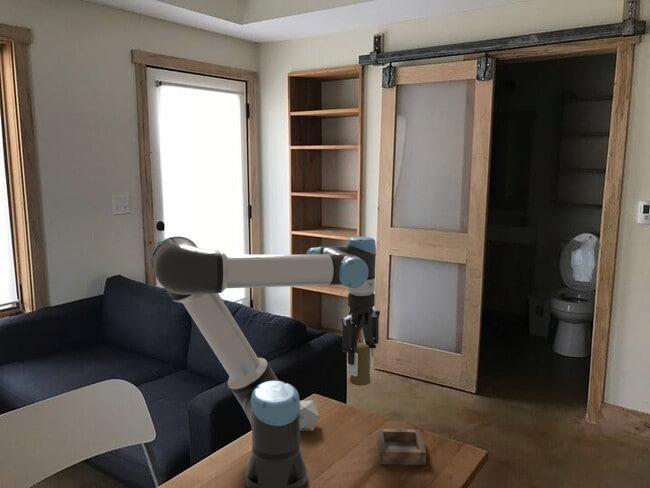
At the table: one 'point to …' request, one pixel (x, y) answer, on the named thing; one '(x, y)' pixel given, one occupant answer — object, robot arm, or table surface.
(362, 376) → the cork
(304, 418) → the die
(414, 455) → the wooden tray
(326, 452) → the table surface
